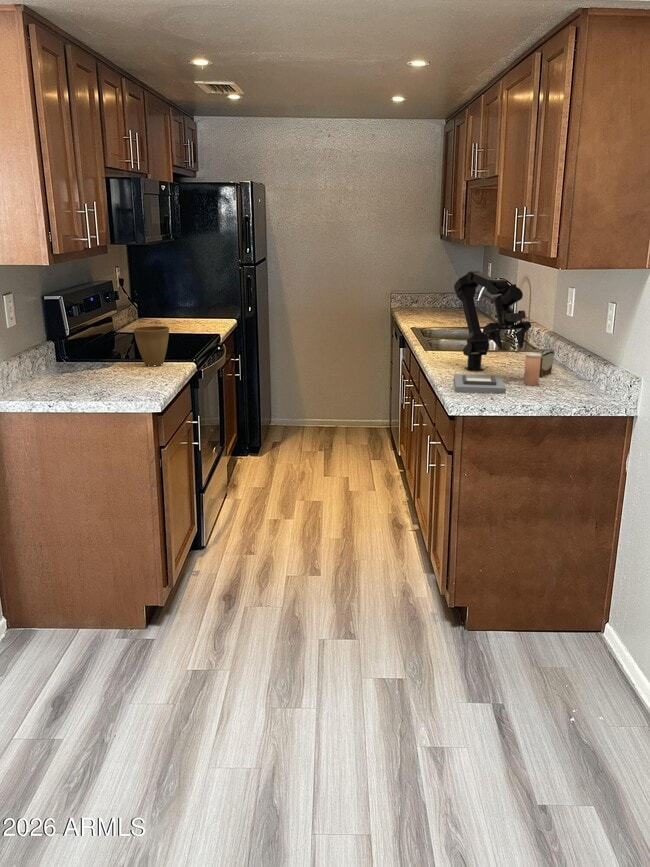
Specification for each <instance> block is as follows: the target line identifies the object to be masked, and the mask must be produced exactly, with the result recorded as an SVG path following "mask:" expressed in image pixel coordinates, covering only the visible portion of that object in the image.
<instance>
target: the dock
mask: <svg viewBox="0 0 650 867" xmlns="http://www.w3.org/2000/svg"><path fill="white" fill-rule="evenodd" d="M453 383H454V391H455V393H470V392H488V393H487V394H499V393H505V394H506V390H507V388H506V386H505V383H504V381H503V379H502V376H501V374H482V373H481V374H479V373H478V374H477V373H475V374H474V373H453ZM491 392H492V393H491Z"/></svg>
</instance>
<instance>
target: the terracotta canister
mask: <svg viewBox="0 0 650 867" xmlns="http://www.w3.org/2000/svg"><path fill="white" fill-rule="evenodd" d="M524 361H525V362H524V371H523V372H524V374H523V385H524V384H525V385H524V386H527V385H532V386H531V387H536V386H535V385H538V386H539V381H540V377H539V373H540V361H541V353H535V352H534V351H533V352H529V351H528V352H525V360H524Z"/></svg>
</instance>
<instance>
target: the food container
mask: <svg viewBox="0 0 650 867" xmlns="http://www.w3.org/2000/svg"><path fill="white" fill-rule="evenodd" d="M533 352H535V353H541V361H540V373H539V378H543V377H547V376H549V375H552V371H553V363H554V356H555V349H553V348H539V349H534V351H533ZM546 375H547V376H546Z"/></svg>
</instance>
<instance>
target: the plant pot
mask: <svg viewBox="0 0 650 867" xmlns="http://www.w3.org/2000/svg"><path fill="white" fill-rule="evenodd" d="M133 333H134V338H135V342H136V345H137V346H136V347H137V349H138V351H139V354H140V357H141V359H142V362H143V363H144V366H145V365H149V366H154V365H161V364H163V365H164V361H165V359H166V354H167V350H168V343H169V336H170V327H169V326H165V325H164V326H163V325H148V326H138V327H134V328H133ZM149 366H148V367H149ZM161 366H162V365H161Z"/></svg>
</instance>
